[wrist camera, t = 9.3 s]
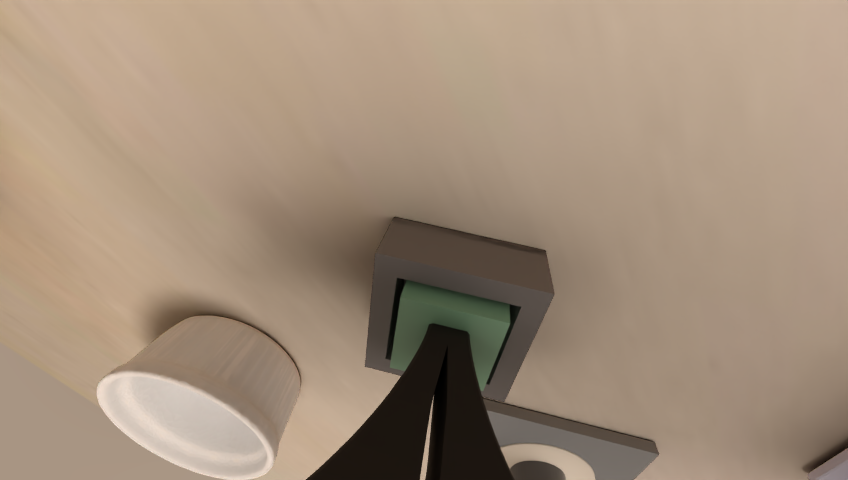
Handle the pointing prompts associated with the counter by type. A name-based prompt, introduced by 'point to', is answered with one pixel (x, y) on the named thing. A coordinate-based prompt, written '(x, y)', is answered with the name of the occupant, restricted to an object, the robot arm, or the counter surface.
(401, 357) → the button
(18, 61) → the counter surface
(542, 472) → the cylinder
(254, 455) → the ramekin
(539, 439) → the grey square plate
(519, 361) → the button housing
